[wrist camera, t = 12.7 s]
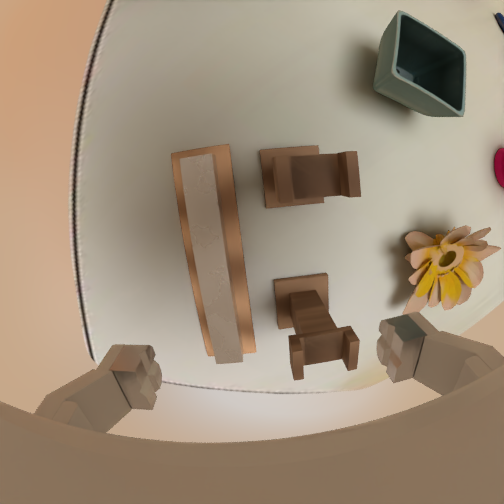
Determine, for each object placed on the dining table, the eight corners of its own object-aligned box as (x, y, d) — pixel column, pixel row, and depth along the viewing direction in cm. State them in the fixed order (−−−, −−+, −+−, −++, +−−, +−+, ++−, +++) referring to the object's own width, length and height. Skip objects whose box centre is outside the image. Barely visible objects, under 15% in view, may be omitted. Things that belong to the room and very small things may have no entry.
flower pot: (354, 98, 26) (391, 74, 17) (365, 40, 24) (398, 7, 15) (417, 128, 26) (464, 118, 18) (424, 70, 24) (466, 51, 16)
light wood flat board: (173, 154, 27) (170, 153, 27) (229, 144, 27) (228, 144, 26) (208, 352, 34) (208, 356, 33) (256, 348, 33) (256, 352, 33)
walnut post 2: (273, 279, 31) (287, 336, 20) (326, 272, 31) (364, 323, 20) (278, 325, 33) (291, 393, 21) (326, 318, 33) (358, 380, 21)
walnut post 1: (259, 150, 27) (267, 133, 16) (316, 146, 27) (358, 128, 16) (266, 207, 29) (278, 227, 18) (322, 201, 29) (366, 218, 17)
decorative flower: (373, 311, 30) (426, 334, 21) (386, 217, 30) (443, 209, 20) (450, 313, 32) (499, 328, 22) (461, 237, 32) (512, 237, 22)
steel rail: (186, 160, 27) (179, 158, 24) (215, 155, 27) (211, 153, 24) (218, 349, 33) (216, 364, 30) (243, 347, 32) (242, 362, 30)
